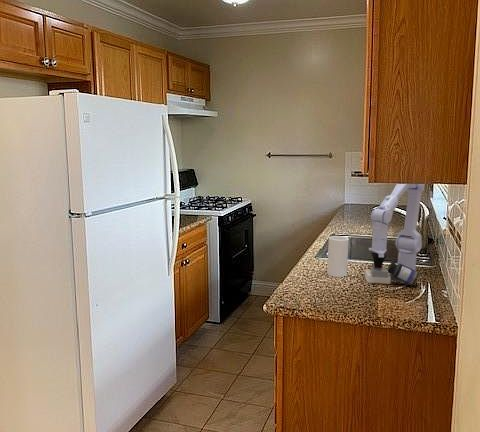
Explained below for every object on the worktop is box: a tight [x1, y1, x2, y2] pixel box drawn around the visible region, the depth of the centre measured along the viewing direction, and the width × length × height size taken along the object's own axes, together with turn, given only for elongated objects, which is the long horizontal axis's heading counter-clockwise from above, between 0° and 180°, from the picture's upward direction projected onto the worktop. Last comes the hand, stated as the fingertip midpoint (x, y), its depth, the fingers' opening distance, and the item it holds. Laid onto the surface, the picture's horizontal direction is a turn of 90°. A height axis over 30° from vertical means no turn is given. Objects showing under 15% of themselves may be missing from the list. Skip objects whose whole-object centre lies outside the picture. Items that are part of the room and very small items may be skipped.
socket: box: [364, 269, 392, 285], centre depth 195 cm, size 9×9×3 cm
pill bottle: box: [387, 261, 420, 287], centre depth 189 cm, size 6×6×11 cm
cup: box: [326, 235, 350, 278], centre depth 201 cm, size 8×8×16 cm
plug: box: [390, 273, 402, 282], centre depth 197 cm, size 4×4×6 cm
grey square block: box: [370, 266, 388, 278], centre depth 191 cm, size 6×6×2 cm
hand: (377, 270), depth 195 cm, fingers closed
